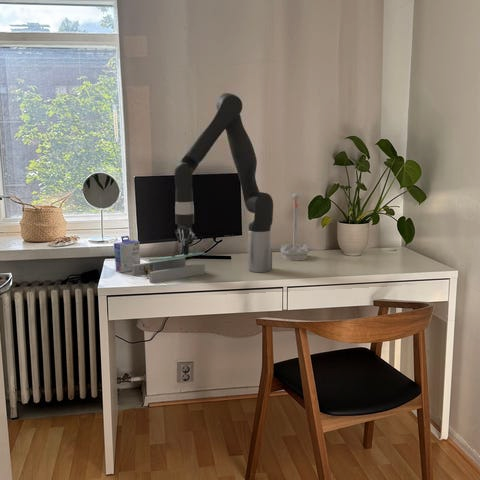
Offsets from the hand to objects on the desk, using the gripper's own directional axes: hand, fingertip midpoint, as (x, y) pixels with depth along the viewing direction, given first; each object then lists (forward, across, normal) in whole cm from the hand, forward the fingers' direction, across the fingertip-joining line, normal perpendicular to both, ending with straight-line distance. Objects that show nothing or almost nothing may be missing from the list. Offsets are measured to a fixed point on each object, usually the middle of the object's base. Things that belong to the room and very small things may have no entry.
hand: (185, 254), depth 253 cm
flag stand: (+9, -2, -58) cm, 59 cm away
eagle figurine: (+9, +5, +13) cm, 17 cm away
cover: (+3, +7, 0) cm, 7 cm away
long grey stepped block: (+9, +7, +4) cm, 12 cm away
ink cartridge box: (+9, +24, +14) cm, 29 cm away
